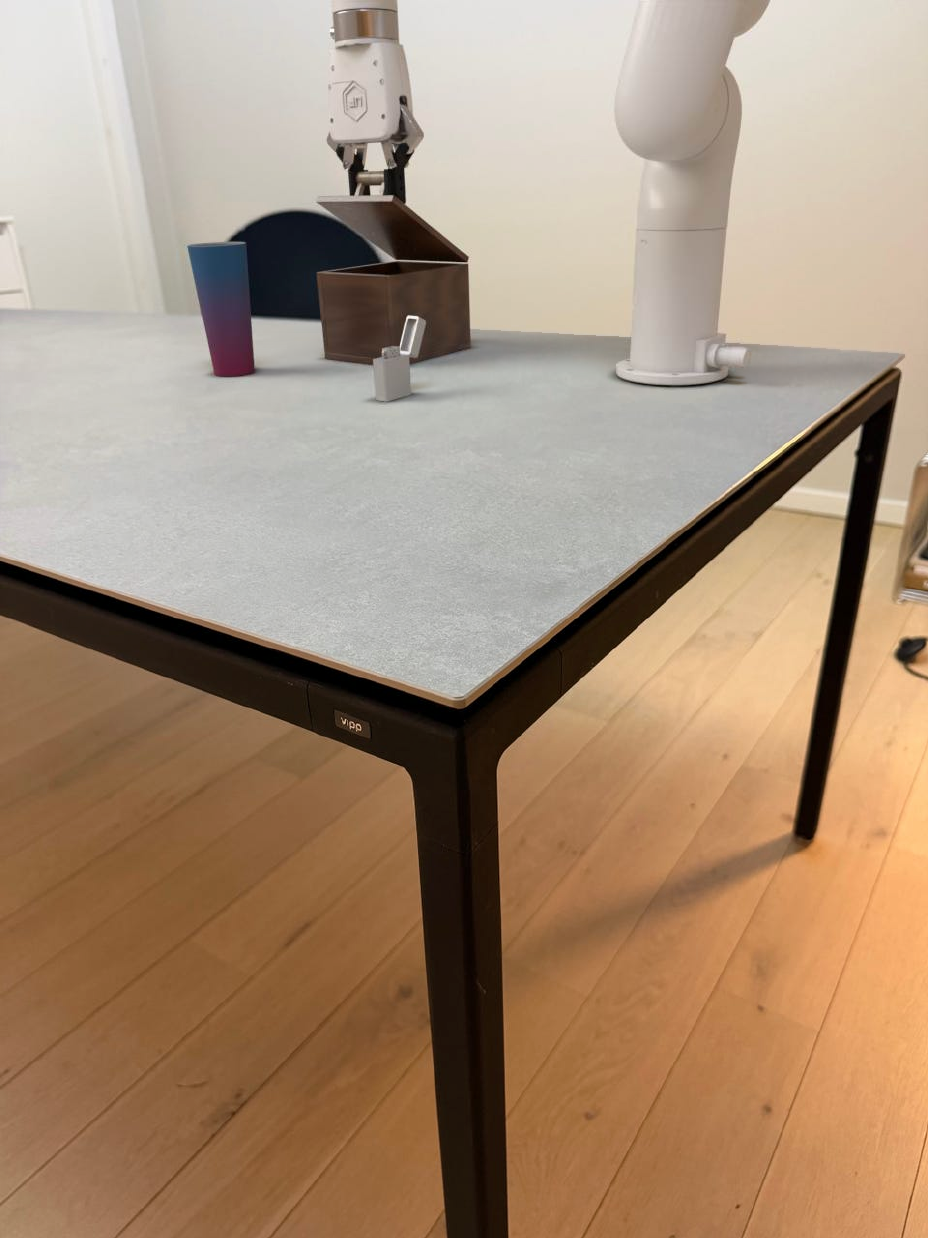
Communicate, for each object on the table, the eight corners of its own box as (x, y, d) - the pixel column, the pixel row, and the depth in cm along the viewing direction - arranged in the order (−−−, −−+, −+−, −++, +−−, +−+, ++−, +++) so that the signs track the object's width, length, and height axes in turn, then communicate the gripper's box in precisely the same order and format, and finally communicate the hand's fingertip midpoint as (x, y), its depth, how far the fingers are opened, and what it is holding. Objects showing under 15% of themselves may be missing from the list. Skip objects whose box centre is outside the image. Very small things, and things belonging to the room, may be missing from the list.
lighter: (386, 401, 98) (381, 324, 95) (374, 399, 99) (369, 322, 96) (429, 389, 103) (426, 314, 100) (418, 387, 104) (414, 313, 101)
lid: (392, 201, 107) (403, 159, 107) (315, 202, 114) (326, 162, 114) (467, 262, 121) (477, 225, 121) (395, 259, 128) (405, 224, 128)
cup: (196, 377, 113) (176, 246, 107) (222, 366, 119) (204, 241, 113) (247, 378, 112) (229, 245, 105) (271, 367, 118) (255, 241, 111)
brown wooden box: (396, 367, 115) (390, 275, 110) (324, 358, 122) (316, 272, 117) (470, 347, 126) (468, 263, 121) (401, 340, 133) (396, 260, 128)
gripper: (291, 38, 108) (308, 207, 116) (401, 21, 99) (411, 206, 107) (336, 43, 114) (348, 204, 122) (444, 27, 104) (450, 203, 112)
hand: (378, 203), depth 114 cm, fingers closed on lid, 5 cm apart
